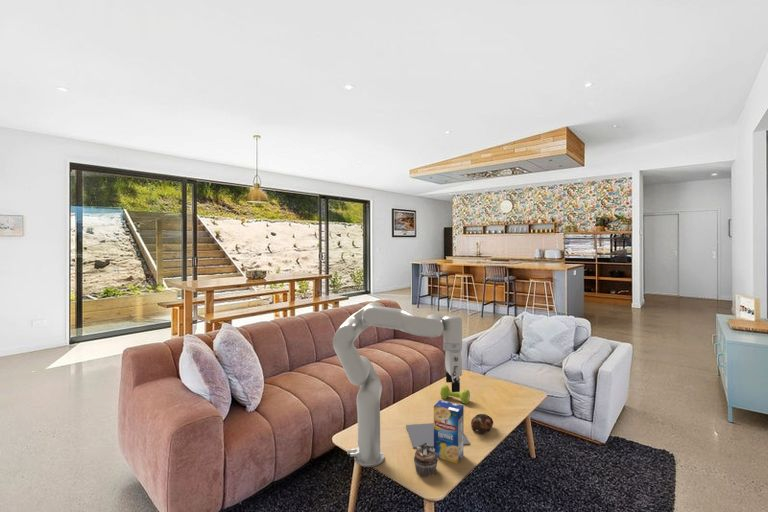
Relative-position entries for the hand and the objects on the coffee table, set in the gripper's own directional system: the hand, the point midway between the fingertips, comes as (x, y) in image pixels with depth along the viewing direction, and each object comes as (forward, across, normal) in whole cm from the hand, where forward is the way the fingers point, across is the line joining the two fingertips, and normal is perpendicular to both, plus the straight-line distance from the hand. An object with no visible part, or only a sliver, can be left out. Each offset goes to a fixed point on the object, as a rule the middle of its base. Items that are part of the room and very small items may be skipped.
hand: (452, 386), depth 154 cm
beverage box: (+32, +5, 0) cm, 33 cm away
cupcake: (+32, -4, +12) cm, 35 cm away
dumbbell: (+33, +59, -16) cm, 69 cm away
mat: (+32, +22, +2) cm, 39 cm away
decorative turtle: (+33, +24, -20) cm, 46 cm away
